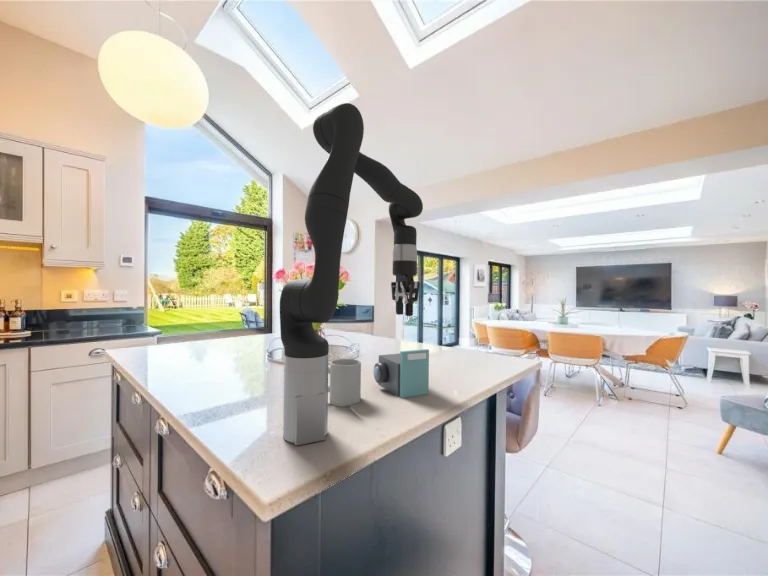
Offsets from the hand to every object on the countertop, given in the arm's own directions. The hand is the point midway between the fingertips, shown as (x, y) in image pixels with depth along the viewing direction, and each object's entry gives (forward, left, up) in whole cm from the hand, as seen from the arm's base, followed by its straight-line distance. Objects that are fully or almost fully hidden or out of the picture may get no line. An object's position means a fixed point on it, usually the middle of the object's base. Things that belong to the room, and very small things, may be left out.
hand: (404, 314), depth 102 cm
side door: (-7, 0, -23) cm, 24 cm away
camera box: (+1, +1, -23) cm, 24 cm away
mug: (-1, +21, -24) cm, 32 cm away
